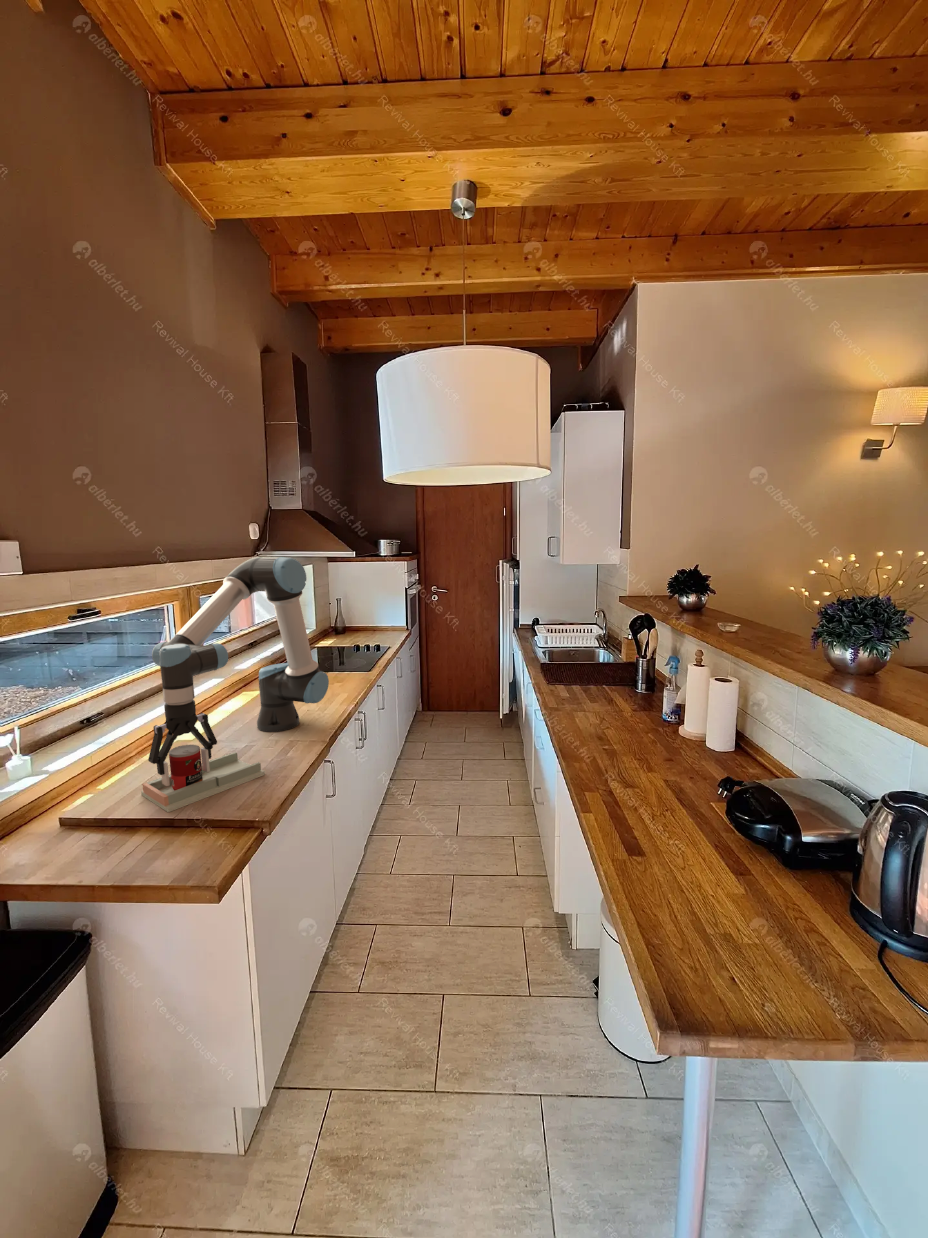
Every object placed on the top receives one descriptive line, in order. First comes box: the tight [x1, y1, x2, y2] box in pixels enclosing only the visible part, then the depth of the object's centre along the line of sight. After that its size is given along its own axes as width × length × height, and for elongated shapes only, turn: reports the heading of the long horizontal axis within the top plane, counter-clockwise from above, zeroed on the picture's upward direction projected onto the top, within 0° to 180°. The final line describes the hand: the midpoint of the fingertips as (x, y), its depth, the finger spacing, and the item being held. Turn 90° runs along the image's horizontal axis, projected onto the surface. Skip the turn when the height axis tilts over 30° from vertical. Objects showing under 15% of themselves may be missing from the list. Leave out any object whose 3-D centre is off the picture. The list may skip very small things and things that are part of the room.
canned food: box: [168, 744, 203, 791], centre depth 154 cm, size 8×8×11 cm
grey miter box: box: [140, 751, 266, 813], centre depth 158 cm, size 28×16×4 cm, turn 142°
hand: (186, 777), depth 154 cm, fingers open, 10 cm apart
